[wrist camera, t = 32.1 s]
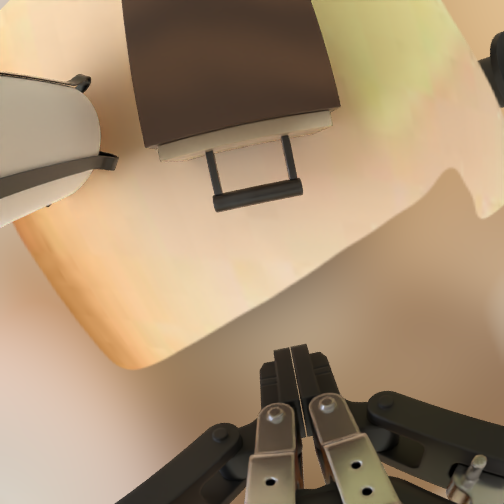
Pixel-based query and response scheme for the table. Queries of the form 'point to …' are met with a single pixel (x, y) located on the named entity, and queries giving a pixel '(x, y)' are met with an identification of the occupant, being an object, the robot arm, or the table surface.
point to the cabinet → (224, 64)
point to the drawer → (245, 137)
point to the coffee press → (45, 142)
